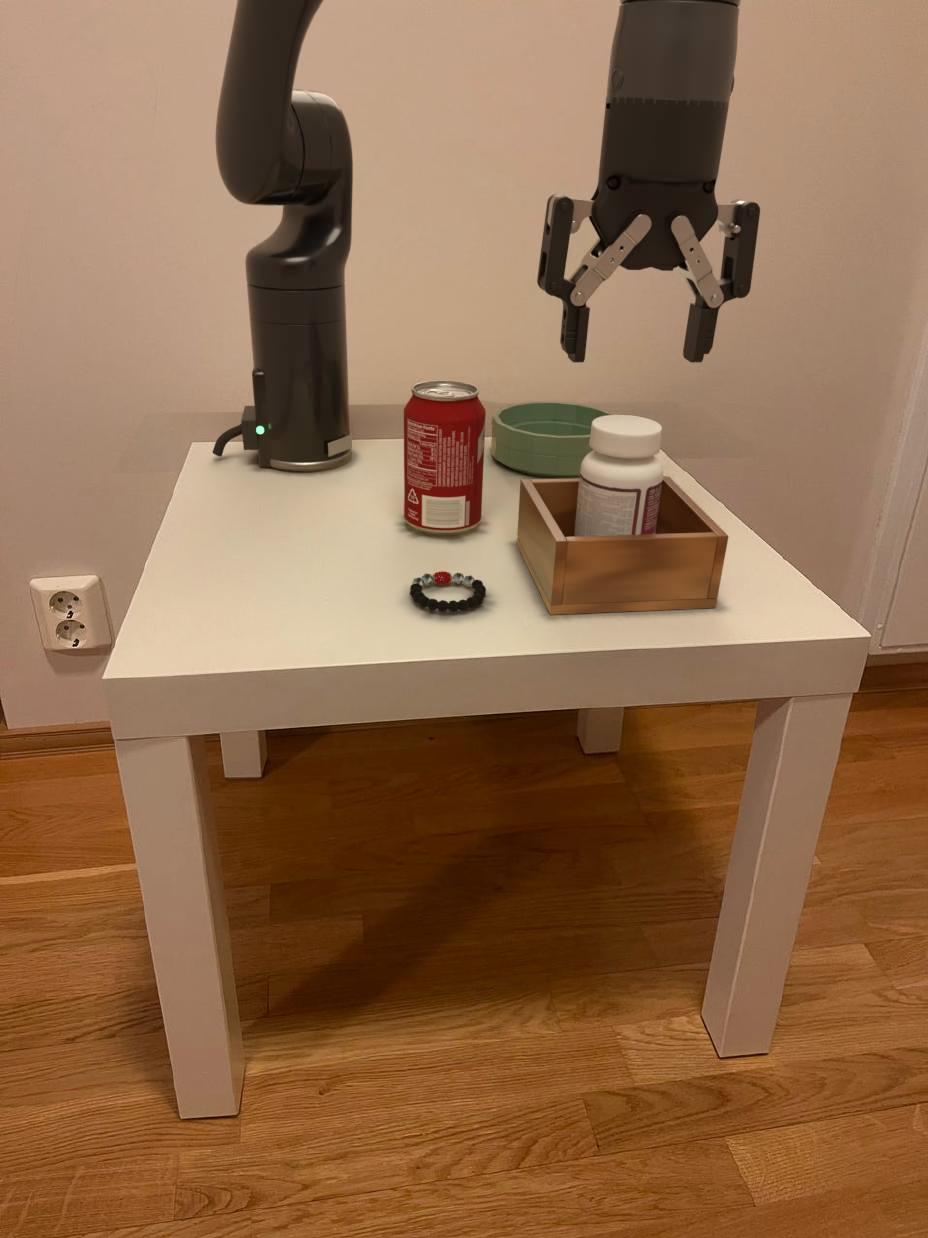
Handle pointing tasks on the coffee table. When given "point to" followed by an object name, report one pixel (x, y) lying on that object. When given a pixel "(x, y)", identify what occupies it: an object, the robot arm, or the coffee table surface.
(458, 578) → the bracelet
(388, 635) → the coffee table surface
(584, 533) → the pill bottle
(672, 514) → the holder
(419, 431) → the soda can
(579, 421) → the bowl
